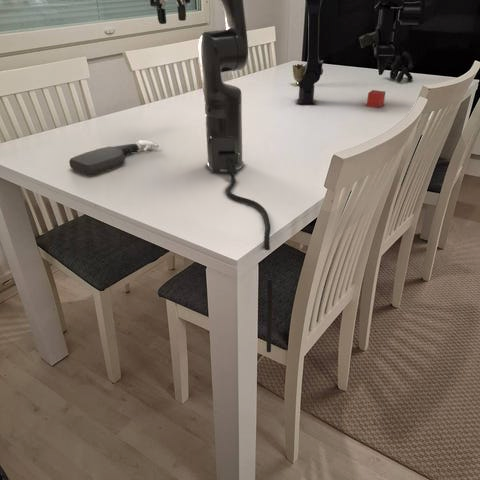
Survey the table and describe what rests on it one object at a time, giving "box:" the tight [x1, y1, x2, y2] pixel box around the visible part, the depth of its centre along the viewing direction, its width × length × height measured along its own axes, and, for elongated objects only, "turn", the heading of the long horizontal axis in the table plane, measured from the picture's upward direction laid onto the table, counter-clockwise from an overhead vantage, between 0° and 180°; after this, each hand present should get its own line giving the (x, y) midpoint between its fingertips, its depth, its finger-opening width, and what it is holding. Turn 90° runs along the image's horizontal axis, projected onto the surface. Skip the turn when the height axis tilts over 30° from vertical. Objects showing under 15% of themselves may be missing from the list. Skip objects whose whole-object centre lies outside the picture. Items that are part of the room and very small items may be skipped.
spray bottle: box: [68, 139, 160, 177], centre depth 124 cm, size 3×11×24 cm
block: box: [366, 89, 386, 108], centre depth 166 cm, size 5×5×5 cm
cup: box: [292, 63, 307, 86], centre depth 194 cm, size 8×7×8 cm
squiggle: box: [387, 51, 414, 83], centre depth 198 cm, size 11×10×15 cm
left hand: (172, 22), depth 128 cm, fingers open, 8 cm apart
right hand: (379, 72), depth 161 cm, fingers open, 9 cm apart
